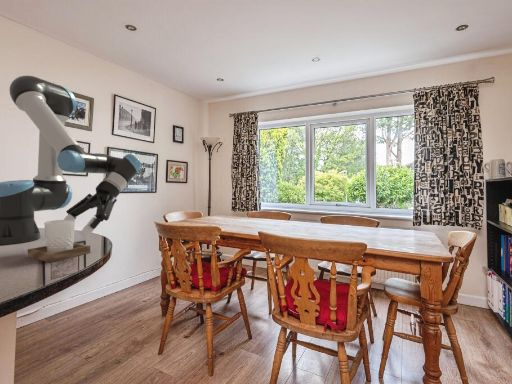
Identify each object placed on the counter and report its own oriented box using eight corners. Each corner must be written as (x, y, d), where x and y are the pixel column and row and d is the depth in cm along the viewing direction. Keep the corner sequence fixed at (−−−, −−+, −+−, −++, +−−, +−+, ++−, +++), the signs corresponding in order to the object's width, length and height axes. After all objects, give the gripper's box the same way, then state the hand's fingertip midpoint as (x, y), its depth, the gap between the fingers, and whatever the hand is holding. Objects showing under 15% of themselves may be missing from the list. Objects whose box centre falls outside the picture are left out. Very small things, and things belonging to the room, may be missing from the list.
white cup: (59, 256, 83) (59, 224, 82) (38, 254, 85) (37, 222, 84) (80, 250, 91) (80, 220, 90) (61, 248, 92) (60, 219, 92)
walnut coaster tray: (27, 257, 85) (27, 249, 84) (68, 248, 95) (68, 241, 95) (50, 262, 80) (50, 254, 79) (90, 252, 90) (90, 245, 90)
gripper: (140, 194, 99) (102, 244, 87) (96, 192, 110) (57, 236, 98) (127, 180, 94) (85, 230, 82) (83, 179, 105) (40, 223, 93)
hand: (70, 233), depth 90 cm, fingers open, 13 cm apart
